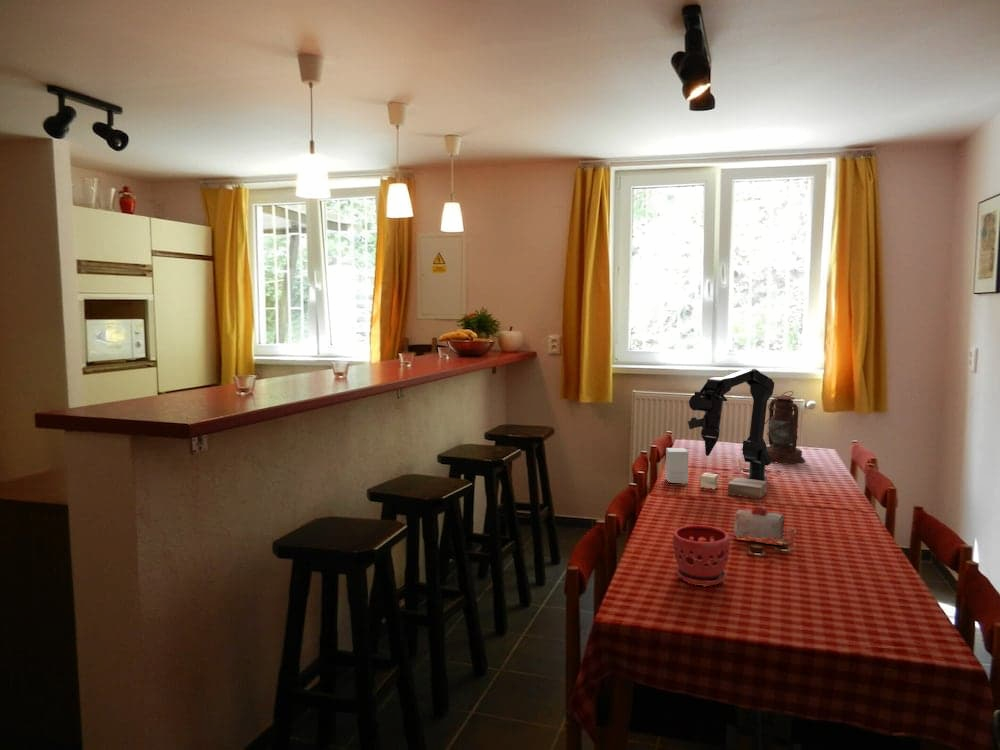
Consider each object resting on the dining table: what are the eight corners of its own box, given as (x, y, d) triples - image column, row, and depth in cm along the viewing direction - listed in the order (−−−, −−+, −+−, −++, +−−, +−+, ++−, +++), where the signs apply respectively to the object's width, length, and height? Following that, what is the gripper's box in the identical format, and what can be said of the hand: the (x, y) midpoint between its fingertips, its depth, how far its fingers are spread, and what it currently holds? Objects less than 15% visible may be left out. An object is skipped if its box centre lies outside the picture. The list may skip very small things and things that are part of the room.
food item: (731, 541, 196) (732, 507, 195) (735, 533, 203) (736, 500, 202) (783, 548, 190) (784, 514, 189) (784, 540, 198) (786, 506, 197)
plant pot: (685, 565, 177) (687, 520, 176) (736, 578, 169) (737, 531, 168) (662, 581, 167) (664, 533, 166) (715, 595, 159) (717, 545, 158)
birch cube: (704, 485, 257) (704, 472, 257) (717, 487, 255) (718, 474, 254) (700, 488, 253) (700, 475, 252) (714, 490, 250) (714, 477, 250)
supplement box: (684, 480, 266) (685, 447, 264) (687, 484, 258) (688, 451, 257) (665, 479, 266) (665, 447, 265) (667, 484, 259) (668, 451, 258)
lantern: (749, 456, 308) (752, 389, 306) (784, 453, 314) (787, 388, 311) (778, 465, 290) (781, 395, 288) (814, 462, 296) (818, 393, 293)
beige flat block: (735, 487, 254) (735, 477, 254) (766, 492, 248) (766, 481, 248) (727, 494, 245) (728, 483, 244) (760, 499, 239) (760, 487, 239)
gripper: (691, 408, 263) (686, 448, 263) (689, 409, 245) (683, 453, 246) (722, 412, 260) (716, 453, 260) (721, 414, 242) (715, 458, 242)
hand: (707, 454), depth 252 cm, fingers open, 9 cm apart
